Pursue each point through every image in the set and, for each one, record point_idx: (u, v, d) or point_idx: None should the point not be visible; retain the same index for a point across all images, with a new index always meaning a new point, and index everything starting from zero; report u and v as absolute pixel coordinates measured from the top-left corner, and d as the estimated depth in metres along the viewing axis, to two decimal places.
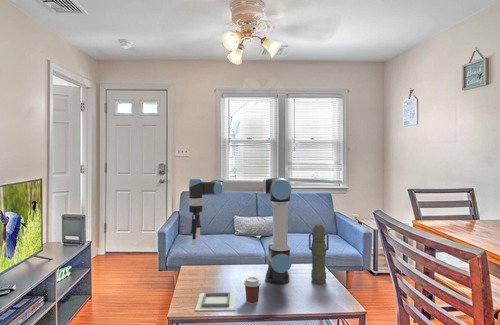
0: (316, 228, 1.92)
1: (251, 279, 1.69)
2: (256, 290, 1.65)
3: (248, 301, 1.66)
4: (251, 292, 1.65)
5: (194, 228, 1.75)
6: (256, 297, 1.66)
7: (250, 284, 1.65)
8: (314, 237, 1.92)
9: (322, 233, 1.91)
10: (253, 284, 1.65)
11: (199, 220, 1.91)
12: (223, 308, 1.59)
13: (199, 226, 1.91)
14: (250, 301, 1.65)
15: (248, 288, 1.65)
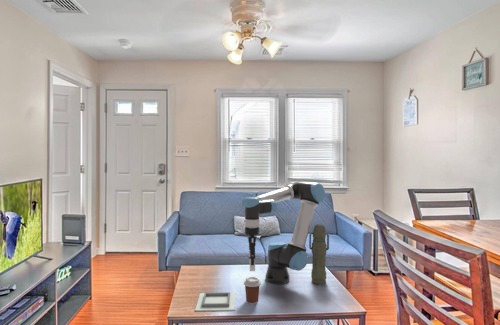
0: (317, 227, 1.93)
1: (251, 279, 1.69)
2: (256, 290, 1.65)
3: (248, 301, 1.66)
4: (251, 292, 1.65)
5: (253, 253, 1.59)
6: (256, 297, 1.66)
7: (250, 284, 1.65)
8: (314, 236, 1.93)
9: (323, 232, 1.92)
10: (253, 284, 1.65)
11: None
12: (223, 308, 1.59)
13: None
14: (250, 301, 1.65)
15: (248, 288, 1.65)
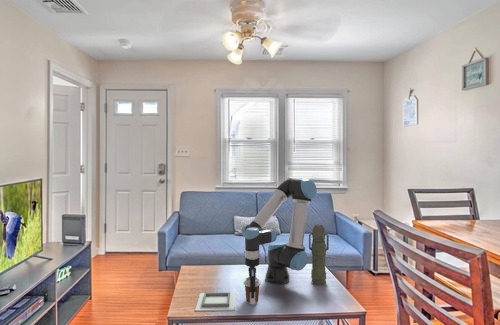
0: (316, 228, 1.92)
1: None
2: (256, 290, 1.65)
3: (248, 301, 1.66)
4: None
5: (253, 287, 1.61)
6: (256, 297, 1.66)
7: None
8: (314, 237, 1.92)
9: (322, 233, 1.91)
10: None
11: None
12: (223, 308, 1.59)
13: None
14: (249, 301, 1.65)
15: (248, 288, 1.65)
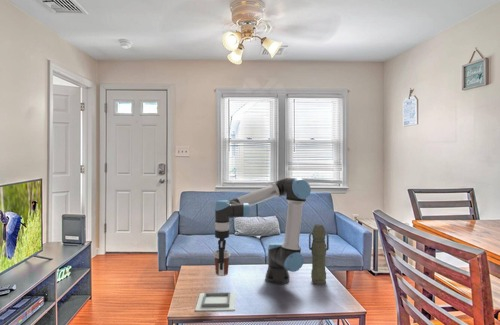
0: (316, 228, 1.92)
1: None
2: (225, 262, 1.65)
3: (217, 273, 1.65)
4: None
5: (222, 258, 1.60)
6: (225, 269, 1.65)
7: None
8: (314, 237, 1.92)
9: (322, 233, 1.91)
10: None
11: None
12: (223, 308, 1.59)
13: None
14: None
15: (217, 260, 1.64)
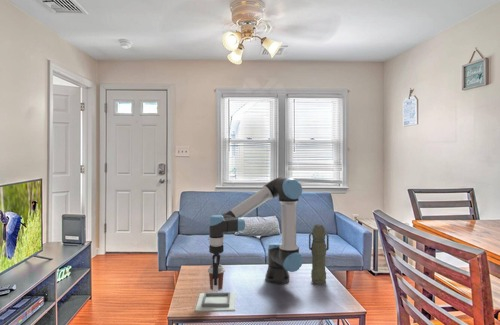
0: (316, 228, 1.92)
1: None
2: (219, 277, 1.65)
3: (211, 288, 1.65)
4: None
5: (216, 274, 1.60)
6: (219, 284, 1.65)
7: None
8: (314, 237, 1.92)
9: (322, 233, 1.91)
10: None
11: (219, 262, 1.74)
12: (223, 308, 1.59)
13: None
14: None
15: (211, 275, 1.65)
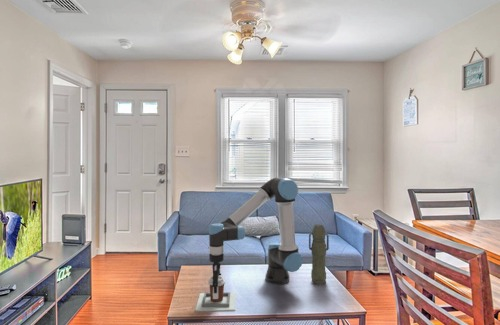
0: (316, 228, 1.92)
1: None
2: (220, 289, 1.65)
3: (212, 300, 1.66)
4: None
5: (216, 281, 1.58)
6: (220, 296, 1.65)
7: None
8: (314, 237, 1.92)
9: (322, 233, 1.91)
10: None
11: None
12: (223, 308, 1.59)
13: (219, 274, 1.75)
14: (213, 300, 1.65)
15: (212, 287, 1.65)
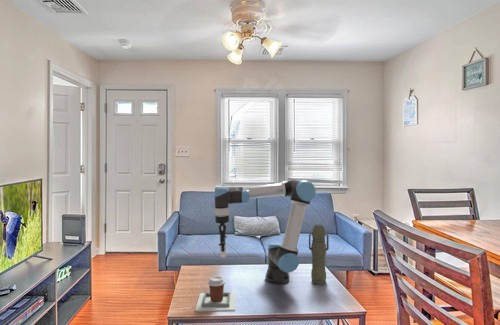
0: (316, 228, 1.92)
1: (215, 278, 1.68)
2: (220, 289, 1.65)
3: (212, 300, 1.65)
4: (215, 291, 1.64)
5: (223, 240, 1.66)
6: (220, 296, 1.65)
7: (213, 283, 1.64)
8: (314, 237, 1.92)
9: (322, 233, 1.91)
10: (216, 283, 1.64)
11: None
12: (223, 308, 1.59)
13: (225, 236, 1.83)
14: (213, 300, 1.65)
15: (212, 287, 1.65)
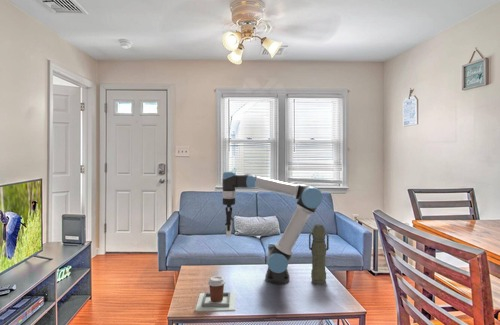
0: (316, 228, 1.92)
1: (215, 278, 1.68)
2: (220, 289, 1.65)
3: (212, 300, 1.66)
4: (215, 291, 1.64)
5: (229, 220, 1.78)
6: (220, 296, 1.65)
7: (213, 283, 1.64)
8: (314, 237, 1.92)
9: (322, 233, 1.91)
10: (216, 283, 1.64)
11: None
12: (223, 308, 1.59)
13: (231, 218, 1.95)
14: (213, 300, 1.65)
15: (212, 287, 1.65)
